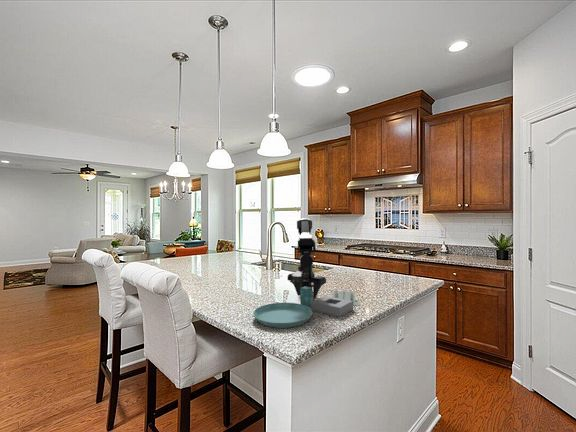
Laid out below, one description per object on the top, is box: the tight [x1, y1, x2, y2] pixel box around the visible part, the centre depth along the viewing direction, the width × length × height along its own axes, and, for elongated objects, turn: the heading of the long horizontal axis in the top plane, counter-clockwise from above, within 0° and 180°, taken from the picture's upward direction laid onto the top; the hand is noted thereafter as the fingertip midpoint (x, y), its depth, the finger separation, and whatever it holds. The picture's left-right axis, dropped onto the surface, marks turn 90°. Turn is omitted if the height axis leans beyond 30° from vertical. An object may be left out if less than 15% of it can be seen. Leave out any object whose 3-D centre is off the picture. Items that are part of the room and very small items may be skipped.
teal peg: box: [300, 286, 313, 307], centre depth 141 cm, size 4×4×8 cm
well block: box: [311, 295, 354, 318], centre depth 132 cm, size 14×12×4 cm
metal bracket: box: [331, 288, 361, 307], centre depth 145 cm, size 14×6×15 cm
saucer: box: [253, 302, 314, 329], centre depth 123 cm, size 24×24×3 cm
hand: (306, 296), depth 141 cm, fingers open, 9 cm apart
